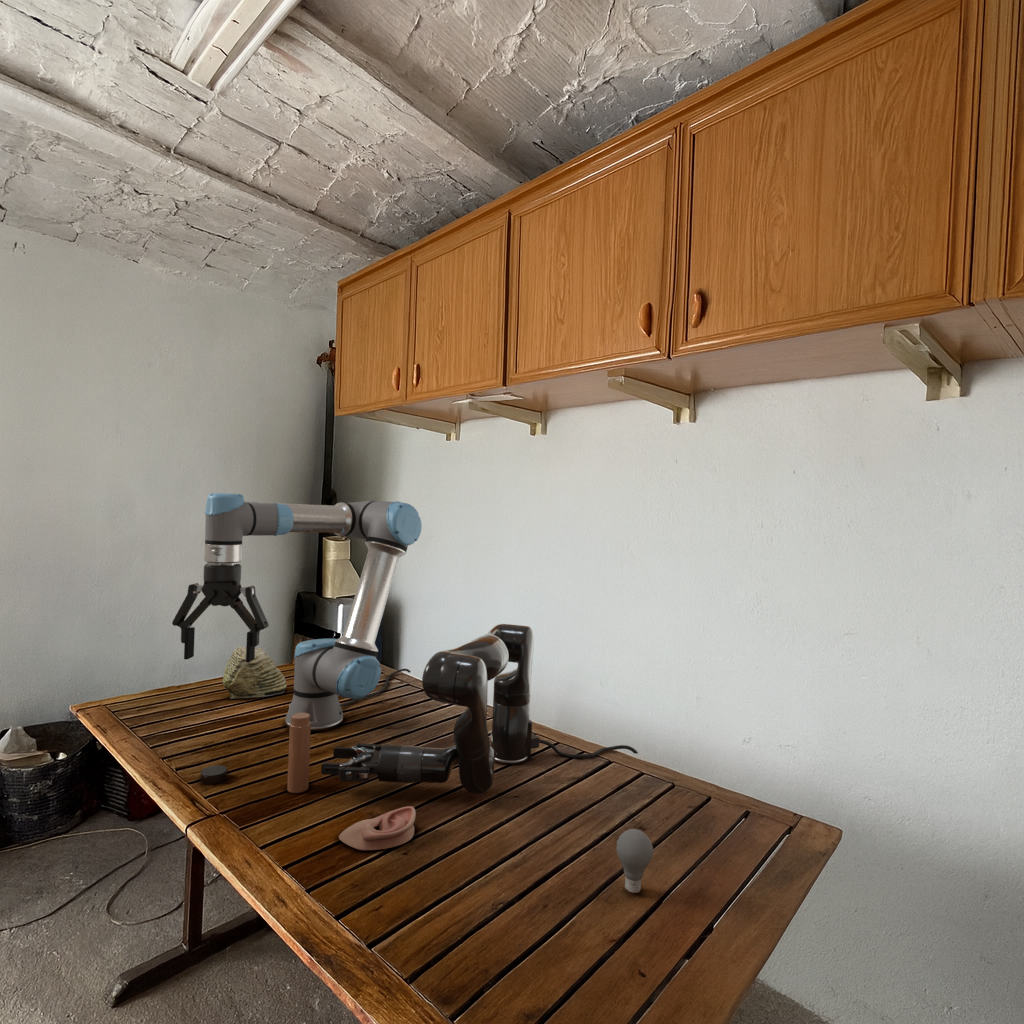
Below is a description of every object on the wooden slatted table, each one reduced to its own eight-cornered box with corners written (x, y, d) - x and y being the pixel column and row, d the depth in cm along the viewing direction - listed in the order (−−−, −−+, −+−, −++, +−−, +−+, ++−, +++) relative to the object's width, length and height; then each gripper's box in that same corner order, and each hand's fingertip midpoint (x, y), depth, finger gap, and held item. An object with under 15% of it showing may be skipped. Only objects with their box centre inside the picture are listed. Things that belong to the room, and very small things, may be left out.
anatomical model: (331, 824, 115) (359, 795, 126) (330, 845, 115) (358, 815, 126) (400, 835, 112) (422, 805, 124) (399, 857, 112) (421, 825, 124)
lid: (197, 785, 137) (198, 776, 137) (204, 774, 142) (204, 765, 142) (224, 783, 138) (224, 774, 138) (229, 773, 143) (229, 764, 143)
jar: (288, 794, 134) (291, 719, 134) (285, 785, 138) (288, 713, 138) (310, 790, 136) (313, 717, 136) (306, 782, 140) (309, 710, 140)
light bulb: (610, 879, 108) (613, 822, 108) (644, 879, 109) (647, 822, 109) (619, 902, 102) (622, 840, 102) (655, 901, 103) (658, 840, 103)
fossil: (218, 695, 195) (220, 647, 195) (278, 685, 208) (279, 640, 207) (228, 703, 189) (230, 653, 188) (289, 692, 201) (290, 645, 201)
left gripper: (156, 562, 135) (153, 660, 136) (272, 567, 135) (269, 666, 136) (175, 559, 143) (172, 652, 143) (285, 564, 143) (282, 657, 143)
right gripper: (408, 734, 144) (337, 731, 145) (396, 759, 130) (318, 756, 130) (407, 767, 144) (336, 763, 145) (395, 796, 130) (316, 792, 130)
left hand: (219, 659), depth 139 cm, fingers open, 13 cm apart
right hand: (328, 760), depth 137 cm, fingers open, 8 cm apart
